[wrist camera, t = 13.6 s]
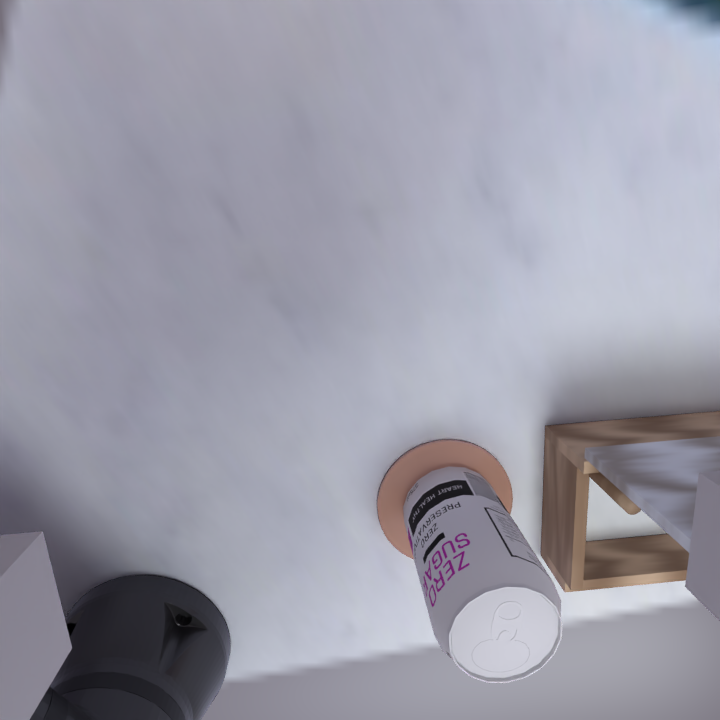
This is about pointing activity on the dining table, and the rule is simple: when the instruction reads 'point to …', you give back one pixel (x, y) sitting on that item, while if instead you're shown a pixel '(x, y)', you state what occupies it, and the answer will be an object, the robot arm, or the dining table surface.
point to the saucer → (423, 463)
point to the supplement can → (480, 578)
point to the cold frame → (625, 495)
